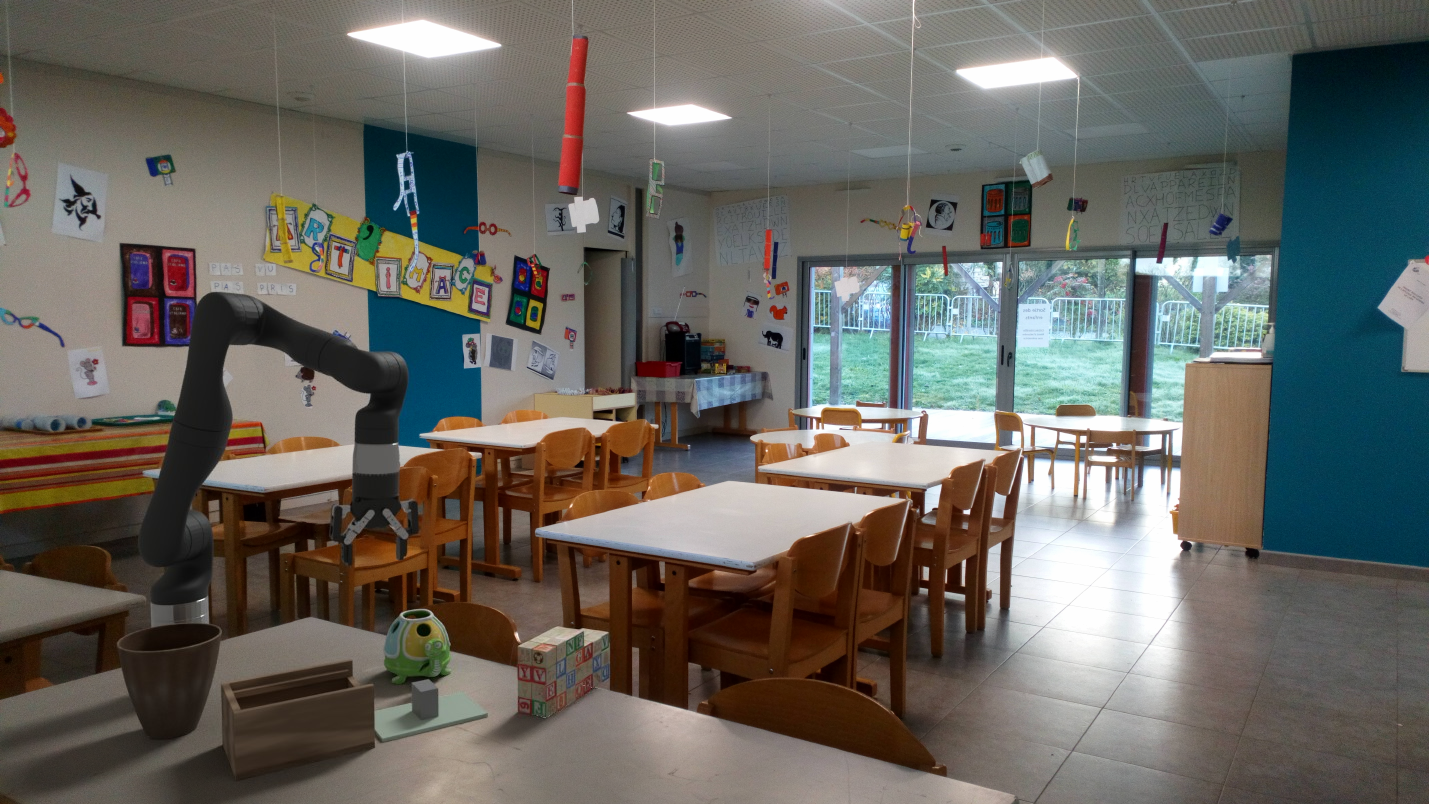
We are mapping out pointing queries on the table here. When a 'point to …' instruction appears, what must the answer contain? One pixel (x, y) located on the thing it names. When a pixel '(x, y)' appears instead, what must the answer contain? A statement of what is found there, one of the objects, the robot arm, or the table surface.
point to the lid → (425, 712)
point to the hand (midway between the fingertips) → (374, 562)
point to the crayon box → (295, 718)
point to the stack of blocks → (560, 668)
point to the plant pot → (170, 675)
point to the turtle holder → (417, 646)
